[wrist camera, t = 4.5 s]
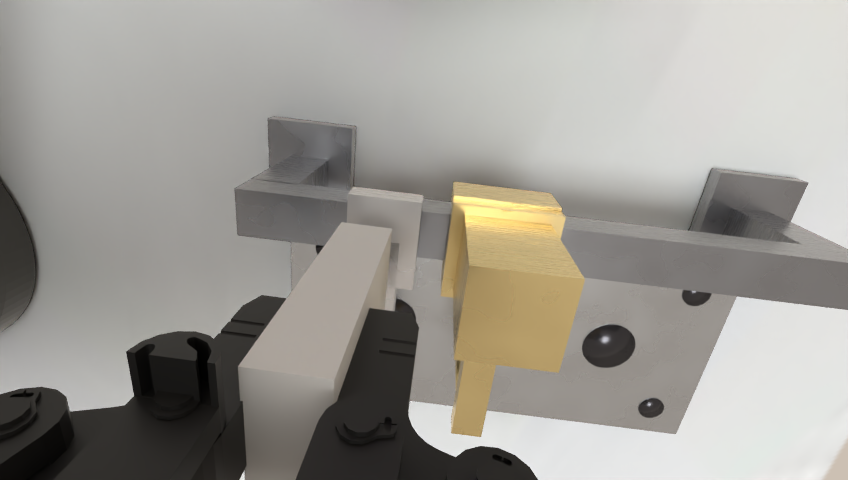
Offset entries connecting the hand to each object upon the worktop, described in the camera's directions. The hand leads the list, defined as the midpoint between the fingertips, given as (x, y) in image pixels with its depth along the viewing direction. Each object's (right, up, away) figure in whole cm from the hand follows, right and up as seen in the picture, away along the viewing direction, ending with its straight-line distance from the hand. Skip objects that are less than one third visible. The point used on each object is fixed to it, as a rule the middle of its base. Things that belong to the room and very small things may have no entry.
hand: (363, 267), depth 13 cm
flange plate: (+6, -4, +12) cm, 14 cm away
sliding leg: (+4, 0, +9) cm, 10 cm away
